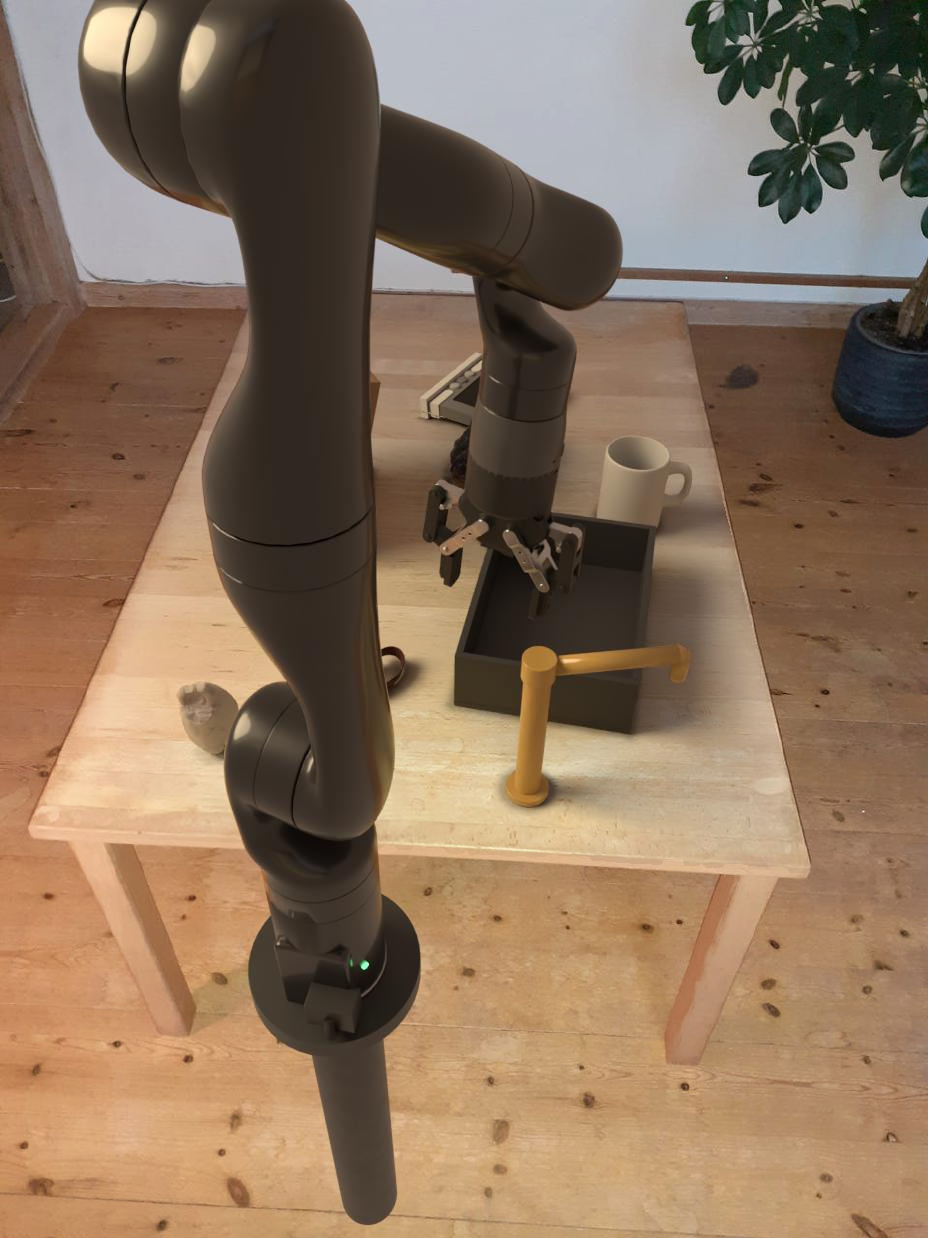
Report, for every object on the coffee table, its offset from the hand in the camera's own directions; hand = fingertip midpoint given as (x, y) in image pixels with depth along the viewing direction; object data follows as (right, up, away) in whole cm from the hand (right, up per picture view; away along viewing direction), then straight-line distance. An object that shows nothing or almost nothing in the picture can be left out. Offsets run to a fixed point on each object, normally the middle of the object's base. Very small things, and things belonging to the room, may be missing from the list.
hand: (493, 597), depth 90 cm
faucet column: (+4, -20, +11) cm, 23 cm away
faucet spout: (+10, -8, +2) cm, 13 cm away
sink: (+9, -4, +28) cm, 29 cm away
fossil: (-29, -16, +14) cm, 36 cm away
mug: (+21, +11, +45) cm, 51 cm away
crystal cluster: (+1, +20, +53) cm, 57 cm away
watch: (-13, -9, +22) cm, 27 cm away
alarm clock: (+2, +31, +66) cm, 73 cm away
